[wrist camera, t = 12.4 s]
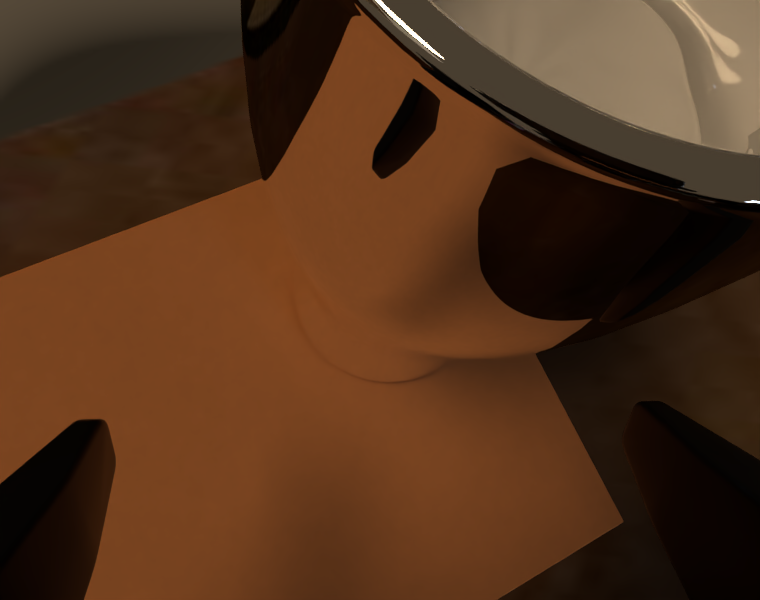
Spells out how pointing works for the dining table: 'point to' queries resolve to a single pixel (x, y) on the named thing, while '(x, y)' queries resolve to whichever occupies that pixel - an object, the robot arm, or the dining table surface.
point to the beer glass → (502, 168)
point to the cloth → (280, 430)
